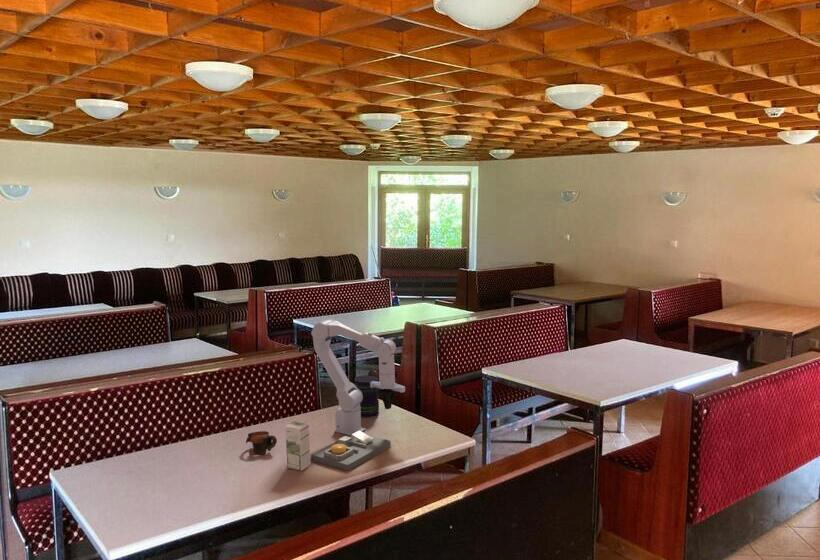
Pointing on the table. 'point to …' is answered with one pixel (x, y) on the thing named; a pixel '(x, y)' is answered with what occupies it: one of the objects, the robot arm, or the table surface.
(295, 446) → the syrup box
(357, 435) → the plate
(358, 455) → the control panel
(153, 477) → the table surface
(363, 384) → the storage jar
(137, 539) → the table surface
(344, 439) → the pale beige block
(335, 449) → the push button
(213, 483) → the table surface
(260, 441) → the pottery mug
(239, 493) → the table surface
